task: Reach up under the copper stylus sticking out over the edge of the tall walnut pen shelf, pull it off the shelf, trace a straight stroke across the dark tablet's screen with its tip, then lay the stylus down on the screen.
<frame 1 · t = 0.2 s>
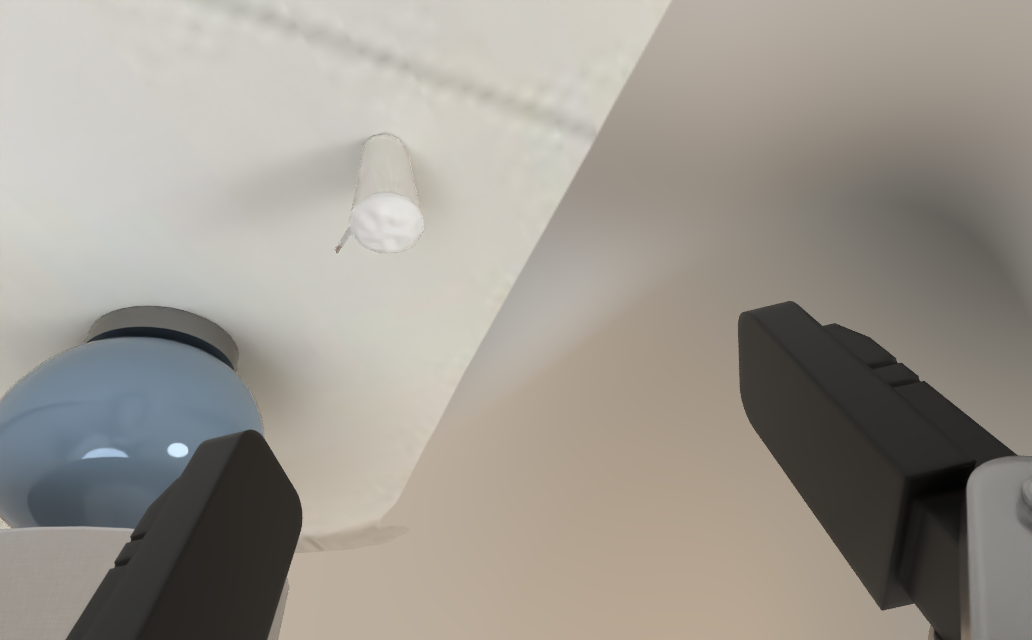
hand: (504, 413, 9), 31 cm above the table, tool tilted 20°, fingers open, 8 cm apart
milkshake: (379, 153, 40), on the table
lamp: (167, 348, 51), on the table
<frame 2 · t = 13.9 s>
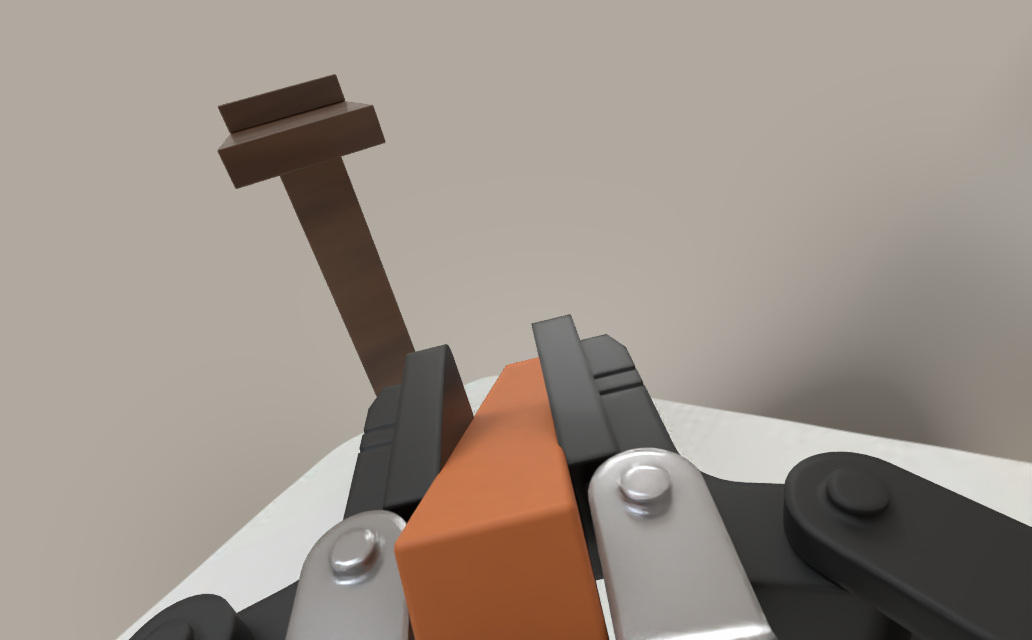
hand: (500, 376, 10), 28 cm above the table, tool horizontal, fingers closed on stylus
pen shelf: (450, 506, 47), on the table
stylus: (532, 451, 14), point 25 cm above the table, tilted 28°, touching gripper
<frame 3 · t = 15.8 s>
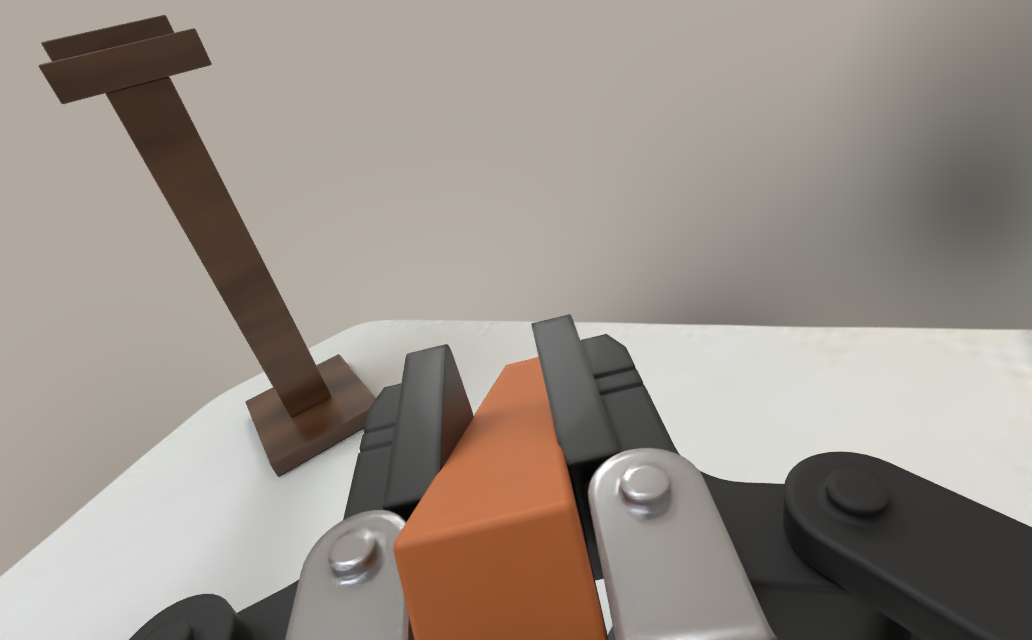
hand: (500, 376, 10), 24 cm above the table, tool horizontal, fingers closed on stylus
pen shelf: (324, 428, 51), on the table
stylus: (532, 451, 14), point 20 cm above the table, tilted 31°, touching gripper
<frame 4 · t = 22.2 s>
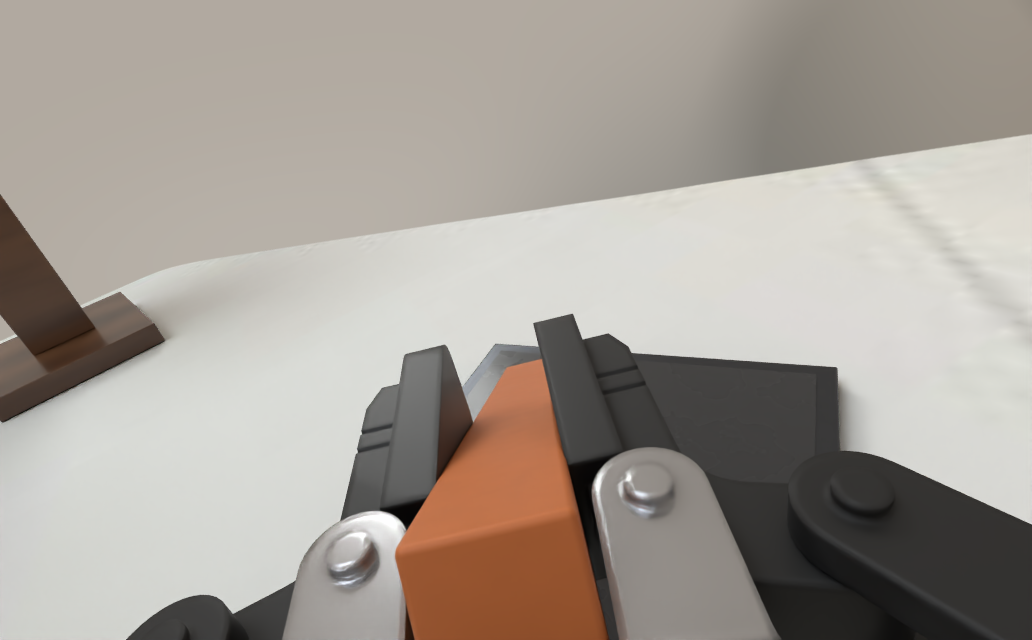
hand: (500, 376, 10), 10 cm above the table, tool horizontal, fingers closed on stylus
tablet: (568, 557, 18), on the table
pen shelf: (82, 366, 39), on the table
stylus: (533, 454, 14), point 6 cm above the table, tilted 30°, touching gripper, tablet
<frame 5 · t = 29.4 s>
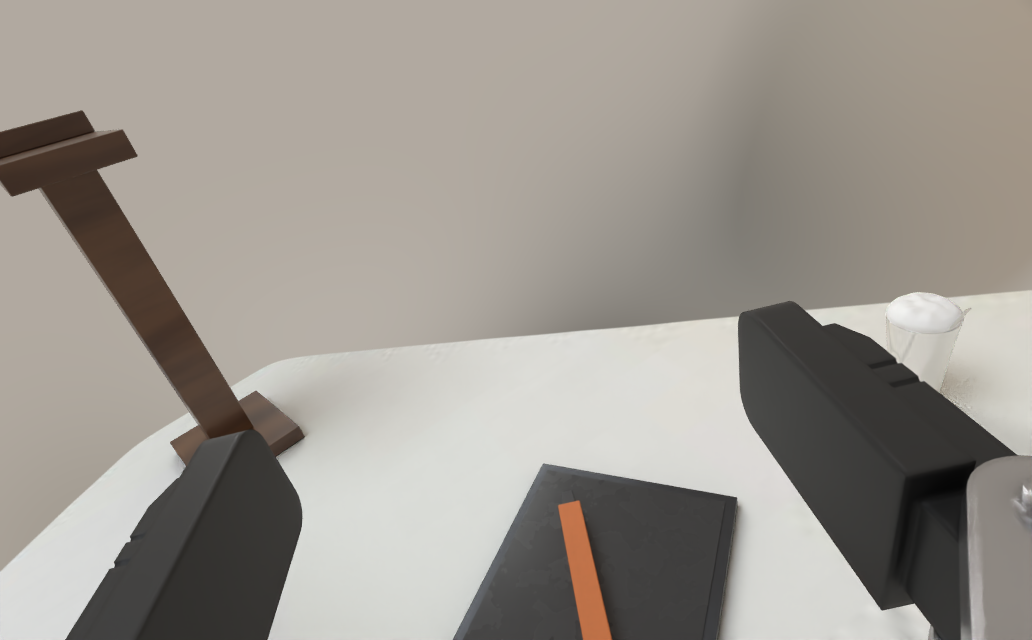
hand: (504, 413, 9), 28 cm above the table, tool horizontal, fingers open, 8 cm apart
tablet: (593, 605, 35), on the table
milkshake: (913, 404, 43), on the table
pen shelf: (249, 455, 57), on the table
stylus: (598, 639, 33), point 1 cm above the table, touching tablet
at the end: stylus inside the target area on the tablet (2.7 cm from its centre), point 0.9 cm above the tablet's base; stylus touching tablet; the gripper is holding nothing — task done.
